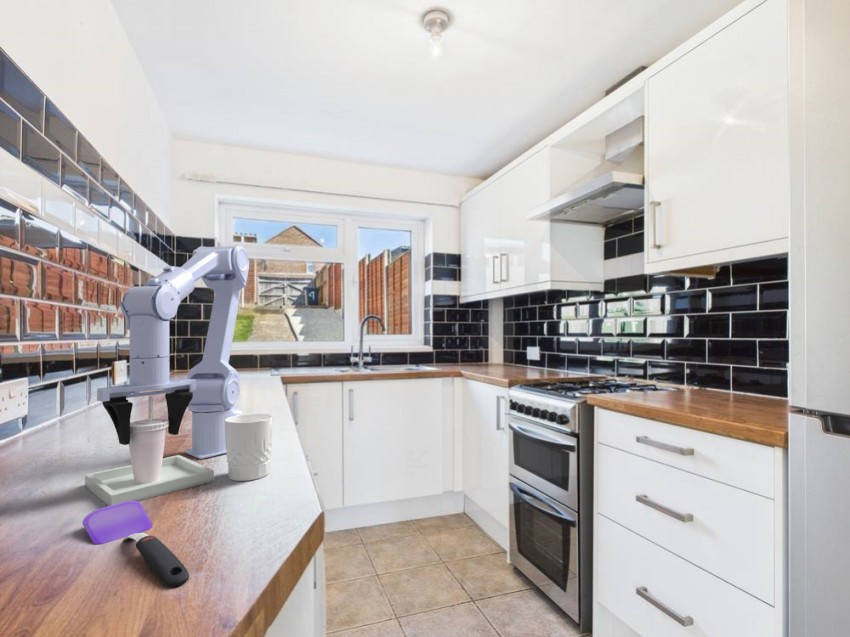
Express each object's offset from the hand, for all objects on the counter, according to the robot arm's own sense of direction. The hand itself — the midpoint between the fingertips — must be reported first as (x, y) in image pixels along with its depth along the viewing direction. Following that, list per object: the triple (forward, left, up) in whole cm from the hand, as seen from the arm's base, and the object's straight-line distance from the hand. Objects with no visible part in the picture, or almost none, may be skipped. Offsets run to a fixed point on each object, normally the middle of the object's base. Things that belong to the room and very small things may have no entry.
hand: (149, 438), depth 75 cm
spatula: (+9, +24, -8) cm, 27 cm away
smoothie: (0, -1, -7) cm, 7 cm away
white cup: (-13, +9, -8) cm, 17 cm away
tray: (0, 0, -7) cm, 7 cm away
